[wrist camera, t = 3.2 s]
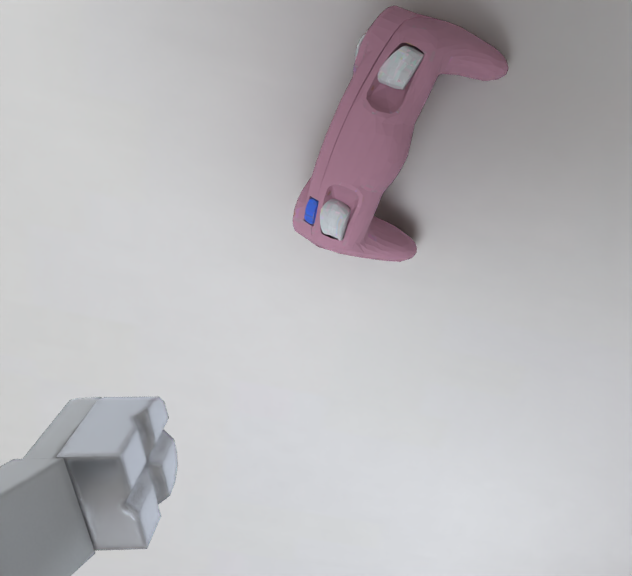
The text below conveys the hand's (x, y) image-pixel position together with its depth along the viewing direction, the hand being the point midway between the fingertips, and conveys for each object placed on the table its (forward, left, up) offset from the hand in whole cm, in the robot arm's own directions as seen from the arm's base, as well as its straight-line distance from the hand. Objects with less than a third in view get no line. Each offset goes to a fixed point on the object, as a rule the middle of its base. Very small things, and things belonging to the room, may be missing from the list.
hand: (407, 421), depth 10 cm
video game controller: (0, -1, -19) cm, 19 cm away
